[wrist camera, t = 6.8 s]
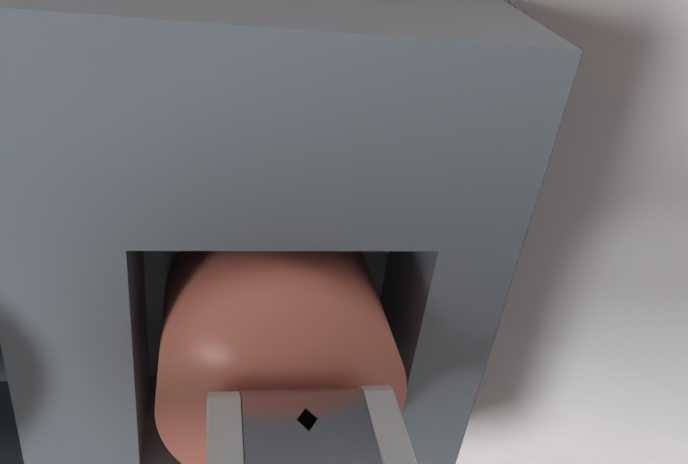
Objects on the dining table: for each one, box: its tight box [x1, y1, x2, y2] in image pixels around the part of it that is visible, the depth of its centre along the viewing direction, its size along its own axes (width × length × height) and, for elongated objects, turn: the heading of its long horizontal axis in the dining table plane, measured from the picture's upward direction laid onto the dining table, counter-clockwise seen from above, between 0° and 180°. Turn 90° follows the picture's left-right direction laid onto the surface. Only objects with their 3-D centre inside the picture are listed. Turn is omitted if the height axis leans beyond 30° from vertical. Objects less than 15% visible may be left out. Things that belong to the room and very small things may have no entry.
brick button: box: [155, 251, 407, 464], centre depth 12 cm, size 4×4×3 cm
